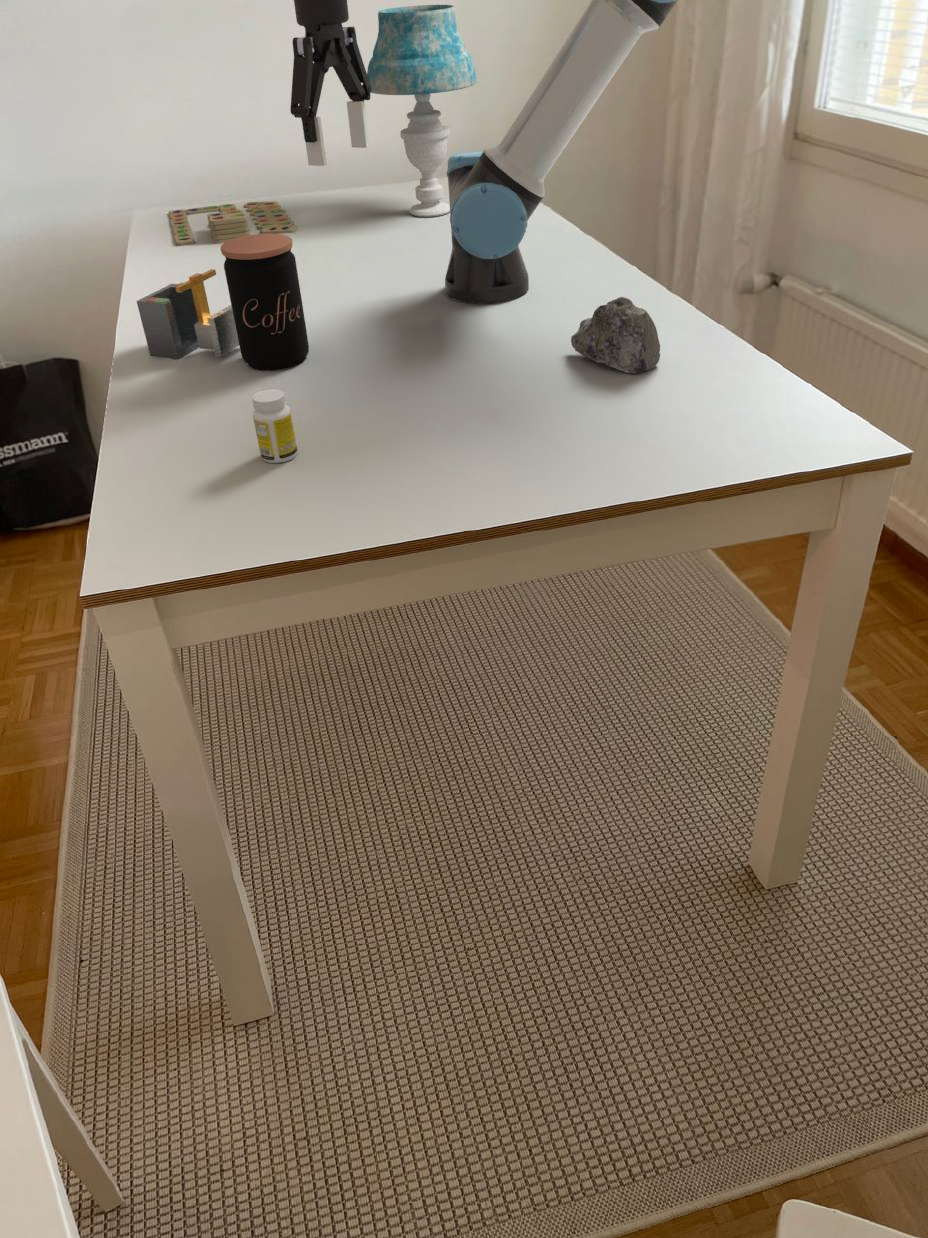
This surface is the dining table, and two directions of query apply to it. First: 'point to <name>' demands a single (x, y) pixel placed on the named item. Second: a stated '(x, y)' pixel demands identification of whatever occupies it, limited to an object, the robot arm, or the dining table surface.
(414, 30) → the table lamp
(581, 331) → the mineral rock
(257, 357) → the coffee jar
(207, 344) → the plunger
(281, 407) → the supplement bottle
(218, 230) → the pile of dominoes
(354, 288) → the dining table surface
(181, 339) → the gauge housing
